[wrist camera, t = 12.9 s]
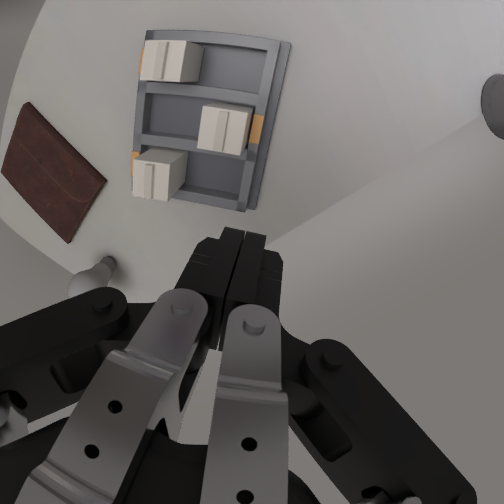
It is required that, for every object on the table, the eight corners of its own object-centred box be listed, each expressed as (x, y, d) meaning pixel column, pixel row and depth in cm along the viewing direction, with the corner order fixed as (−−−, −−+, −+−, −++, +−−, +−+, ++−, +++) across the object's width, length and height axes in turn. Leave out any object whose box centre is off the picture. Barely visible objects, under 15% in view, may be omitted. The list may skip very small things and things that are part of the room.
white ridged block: (204, 47, 25) (184, 39, 19) (198, 81, 27) (177, 82, 21) (169, 45, 24) (142, 39, 19) (163, 78, 27) (136, 80, 21)
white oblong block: (188, 149, 31) (167, 166, 26) (185, 181, 33) (165, 204, 28) (156, 145, 31) (130, 161, 26) (154, 176, 33) (130, 197, 28)
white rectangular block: (254, 107, 28) (247, 113, 22) (247, 142, 30) (238, 157, 25) (217, 101, 28) (201, 106, 22) (212, 136, 30) (195, 149, 25)
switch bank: (290, 44, 25) (291, 39, 22) (255, 205, 36) (252, 218, 33) (151, 31, 25) (137, 28, 22) (136, 183, 36) (123, 193, 33)
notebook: (72, 240, 43) (65, 246, 41) (5, 170, 36) (-2, 174, 34) (109, 178, 36) (102, 184, 34) (31, 101, 30) (22, 103, 28)
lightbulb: (113, 239, 41) (75, 284, 32) (134, 270, 44) (103, 318, 35) (89, 251, 43) (53, 293, 34) (109, 279, 46) (79, 324, 36)
